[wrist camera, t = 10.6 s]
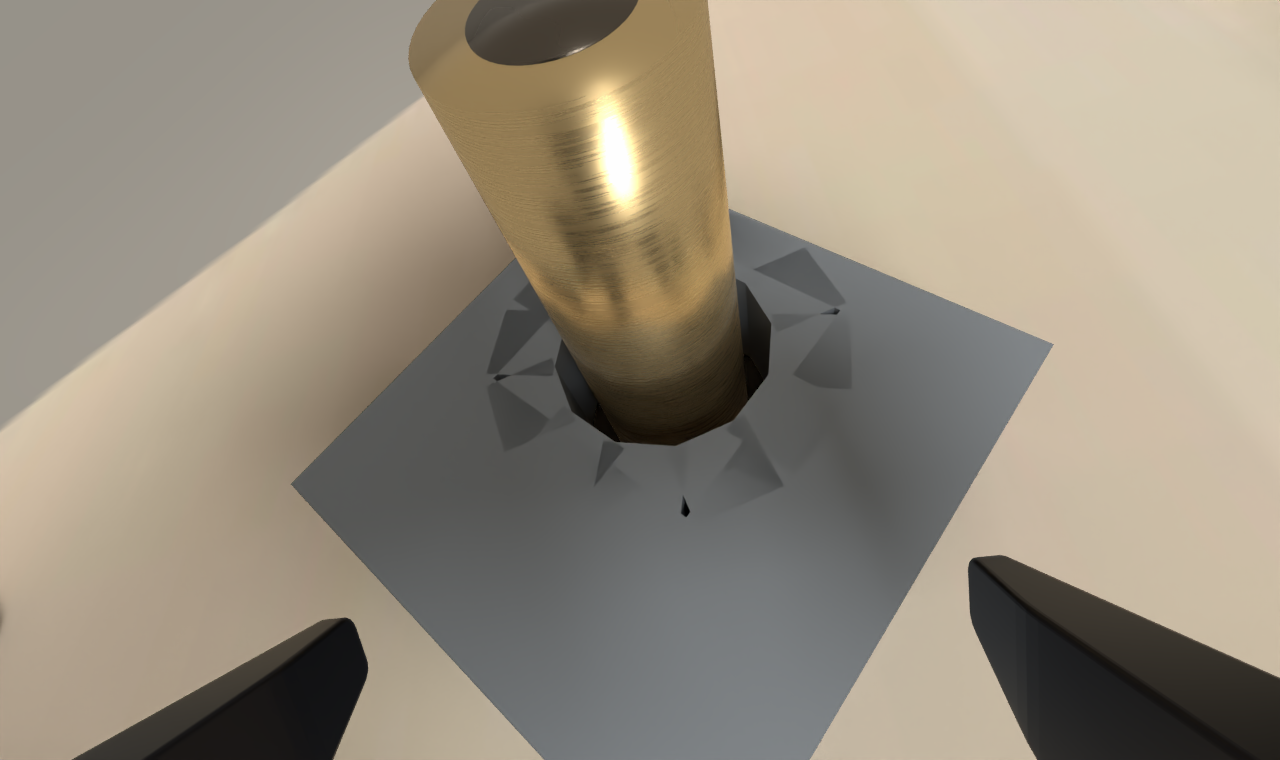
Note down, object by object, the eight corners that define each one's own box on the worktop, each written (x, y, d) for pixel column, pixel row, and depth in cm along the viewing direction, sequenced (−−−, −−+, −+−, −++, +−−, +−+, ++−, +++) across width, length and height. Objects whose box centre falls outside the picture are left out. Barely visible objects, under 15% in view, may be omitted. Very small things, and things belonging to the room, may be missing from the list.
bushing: (775, 393, 19) (769, -57, 8) (695, 501, 18) (557, 146, 7) (668, 334, 21) (545, -92, 10) (589, 428, 20) (350, 61, 9)
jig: (998, 417, 17) (1053, 344, 14) (723, 881, 14) (706, 935, 10) (635, 240, 24) (612, 160, 20) (374, 524, 20) (290, 484, 16)
